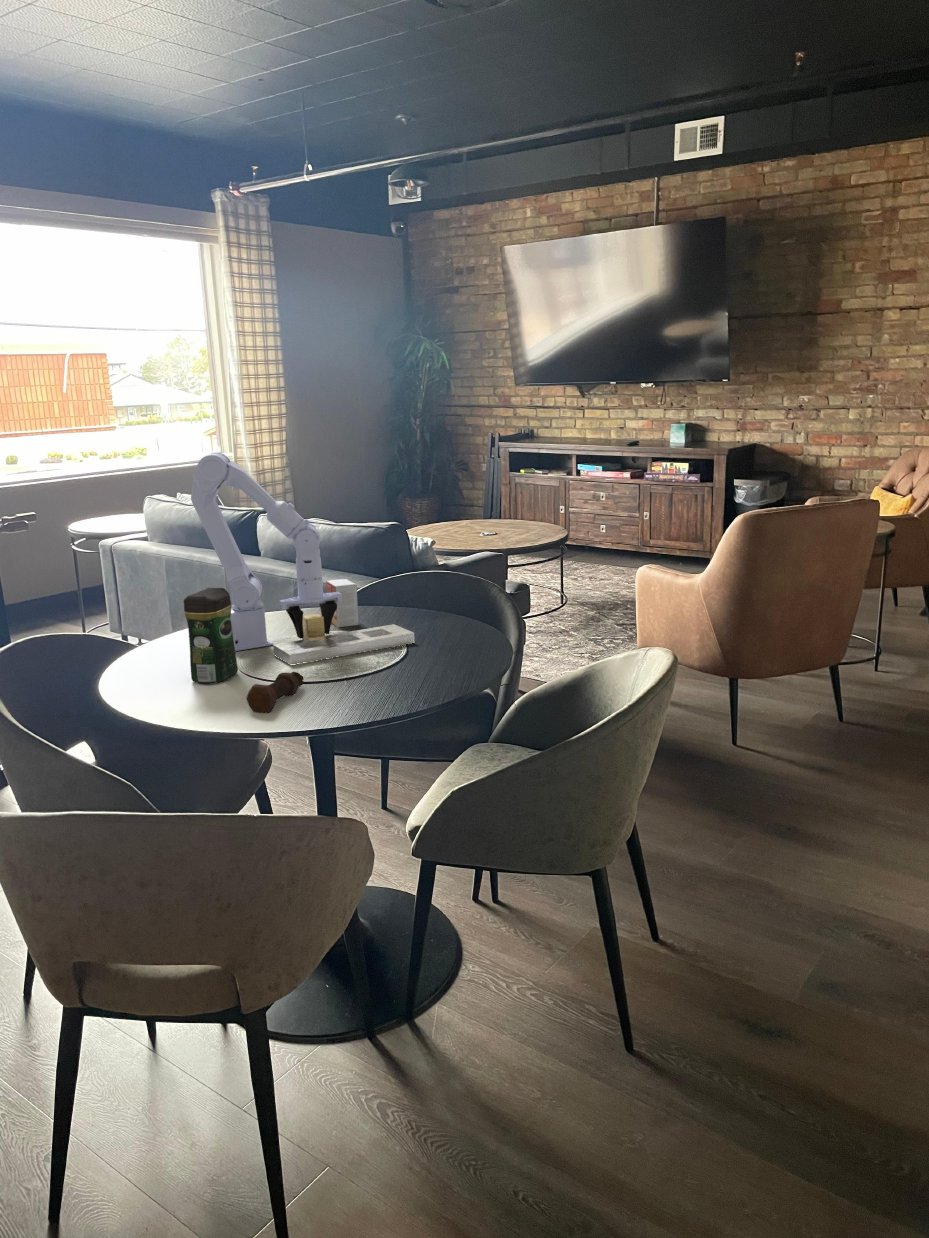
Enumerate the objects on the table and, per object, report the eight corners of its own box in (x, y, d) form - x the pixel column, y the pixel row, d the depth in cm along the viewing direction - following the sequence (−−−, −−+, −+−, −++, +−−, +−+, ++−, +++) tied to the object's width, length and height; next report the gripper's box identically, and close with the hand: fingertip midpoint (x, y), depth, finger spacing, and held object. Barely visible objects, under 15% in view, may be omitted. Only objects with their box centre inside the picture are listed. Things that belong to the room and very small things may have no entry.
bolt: (301, 697, 180) (264, 720, 166) (281, 683, 181) (241, 705, 167) (314, 673, 178) (277, 695, 164) (293, 659, 179) (254, 680, 165)
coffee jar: (209, 670, 192) (201, 584, 188) (243, 672, 190) (236, 585, 186) (184, 684, 183) (175, 594, 179) (220, 687, 181) (211, 595, 177)
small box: (327, 621, 232) (325, 580, 230) (349, 618, 235) (346, 578, 232) (337, 627, 225) (334, 586, 223) (359, 625, 227) (356, 583, 225)
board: (290, 666, 194) (289, 654, 193) (273, 655, 202) (273, 644, 202) (414, 643, 209) (414, 632, 209) (394, 634, 217) (393, 624, 217)
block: (309, 644, 211) (307, 619, 209) (302, 641, 214) (300, 616, 213) (325, 641, 213) (323, 616, 211) (318, 638, 216) (316, 613, 215)
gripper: (286, 584, 203) (290, 643, 206) (345, 576, 210) (349, 633, 213) (274, 579, 209) (279, 637, 212) (333, 572, 216) (336, 627, 219)
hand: (313, 635), depth 213 cm, fingers open, 6 cm apart
